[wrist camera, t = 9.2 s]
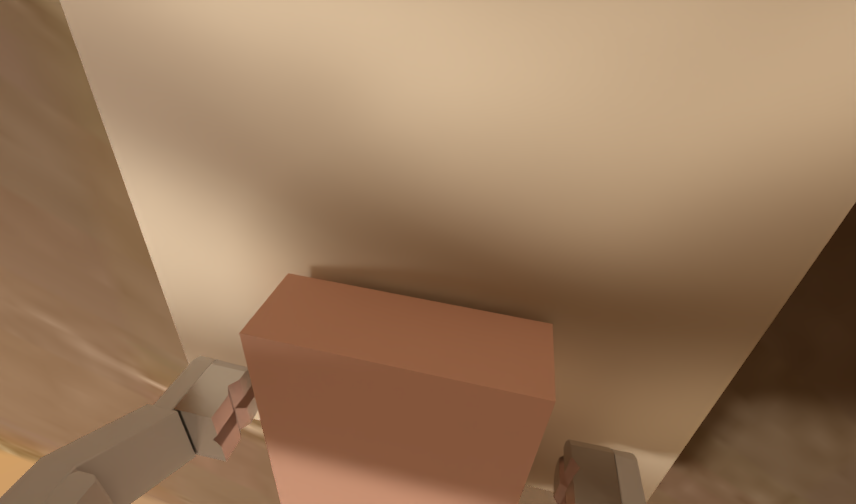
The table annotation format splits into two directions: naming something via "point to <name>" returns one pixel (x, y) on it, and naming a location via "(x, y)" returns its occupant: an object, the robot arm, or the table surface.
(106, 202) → the table surface
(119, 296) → the table surface
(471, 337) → the pink flat block
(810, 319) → the table surface
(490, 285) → the holder board
